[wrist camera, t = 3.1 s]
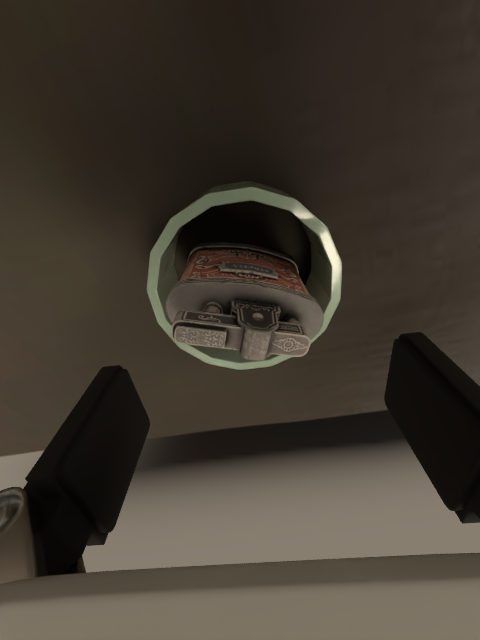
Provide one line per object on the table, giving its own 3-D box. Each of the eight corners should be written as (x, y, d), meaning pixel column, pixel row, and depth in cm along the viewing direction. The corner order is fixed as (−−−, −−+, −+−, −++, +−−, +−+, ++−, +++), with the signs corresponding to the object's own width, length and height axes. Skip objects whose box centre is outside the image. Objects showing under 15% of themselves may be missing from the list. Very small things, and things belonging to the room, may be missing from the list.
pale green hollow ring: (187, 337, 23) (176, 377, 19) (146, 196, 18) (118, 207, 13) (318, 321, 23) (338, 359, 18) (319, 169, 17) (347, 171, 13)
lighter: (301, 252, 20) (352, 322, 11) (290, 294, 21) (326, 383, 13) (190, 235, 19) (150, 297, 10) (187, 280, 21) (152, 365, 12)
